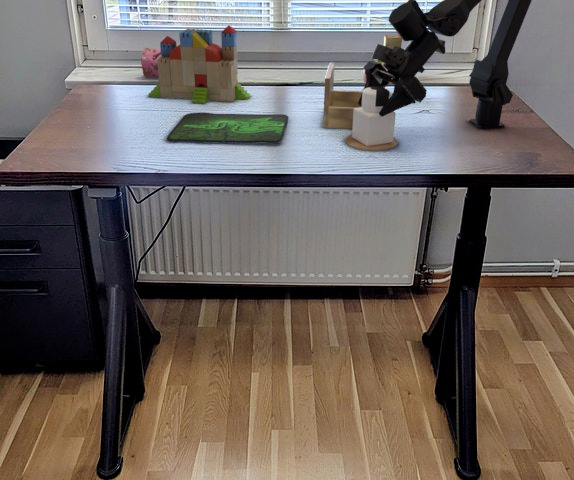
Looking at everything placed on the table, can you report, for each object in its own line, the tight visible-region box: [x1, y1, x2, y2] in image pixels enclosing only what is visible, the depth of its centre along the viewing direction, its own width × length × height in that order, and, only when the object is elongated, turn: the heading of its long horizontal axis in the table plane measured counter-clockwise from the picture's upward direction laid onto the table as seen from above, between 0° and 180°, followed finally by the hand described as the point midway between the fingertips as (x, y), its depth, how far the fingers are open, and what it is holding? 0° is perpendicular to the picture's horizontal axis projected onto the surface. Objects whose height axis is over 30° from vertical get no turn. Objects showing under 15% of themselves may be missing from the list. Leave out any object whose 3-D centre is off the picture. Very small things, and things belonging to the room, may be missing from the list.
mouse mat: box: [166, 112, 289, 144], centre depth 156 cm, size 27×22×1 cm
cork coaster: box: [345, 134, 398, 152], centre depth 149 cm, size 12×12×1 cm
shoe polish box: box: [383, 34, 403, 49], centre depth 202 cm, size 5×5×12 cm
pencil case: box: [140, 47, 162, 79], centre depth 198 cm, size 21×9×9 cm, turn 87°
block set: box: [148, 25, 251, 104], centre depth 177 cm, size 28×14×19 cm, turn 80°
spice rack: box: [322, 62, 363, 130], centre depth 162 cm, size 12×17×12 cm
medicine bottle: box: [351, 87, 397, 146], centre depth 146 cm, size 7×7×12 cm
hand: (369, 109), depth 144 cm, fingers open, 9 cm apart
